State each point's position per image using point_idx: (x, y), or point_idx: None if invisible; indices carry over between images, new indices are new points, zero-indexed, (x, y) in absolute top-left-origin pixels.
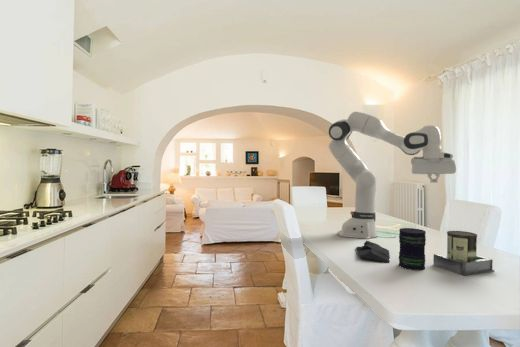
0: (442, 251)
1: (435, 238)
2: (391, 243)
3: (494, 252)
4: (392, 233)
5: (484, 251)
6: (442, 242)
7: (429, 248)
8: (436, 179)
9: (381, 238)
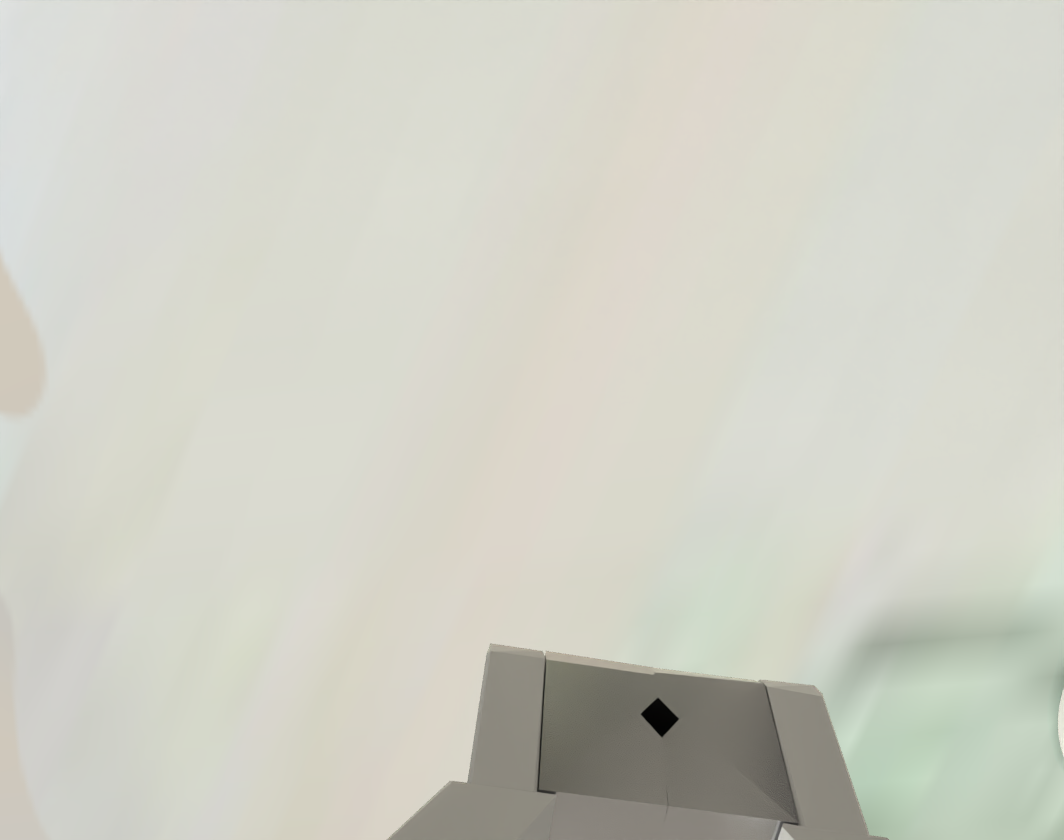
0: (599, 14)
1: (408, 632)
2: (1053, 336)
3: (26, 55)
4: None
5: (116, 86)
6: (409, 454)
7: (691, 143)
8: (530, 761)
9: (1061, 573)
